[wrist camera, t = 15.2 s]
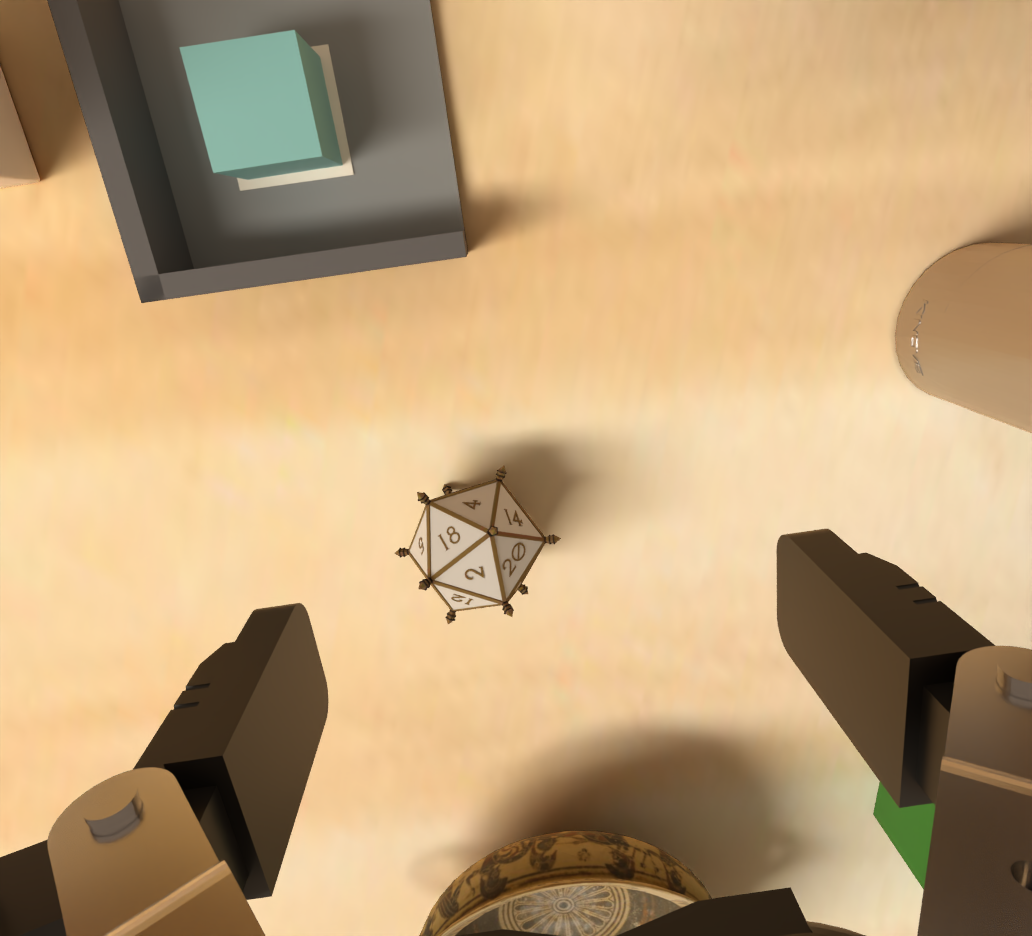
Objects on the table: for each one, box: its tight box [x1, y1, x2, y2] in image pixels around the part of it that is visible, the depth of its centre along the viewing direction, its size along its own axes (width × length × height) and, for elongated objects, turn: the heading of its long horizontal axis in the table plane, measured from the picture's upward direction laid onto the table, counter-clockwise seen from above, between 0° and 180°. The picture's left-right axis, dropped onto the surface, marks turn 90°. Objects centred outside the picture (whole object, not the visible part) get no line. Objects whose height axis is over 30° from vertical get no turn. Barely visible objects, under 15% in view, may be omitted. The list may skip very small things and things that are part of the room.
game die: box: [395, 466, 561, 624], centre depth 40 cm, size 9×8×10 cm
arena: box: [47, 0, 468, 303], centre depth 34 cm, size 16×14×5 cm
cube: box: [179, 30, 343, 180], centre depth 33 cm, size 5×5×5 cm
